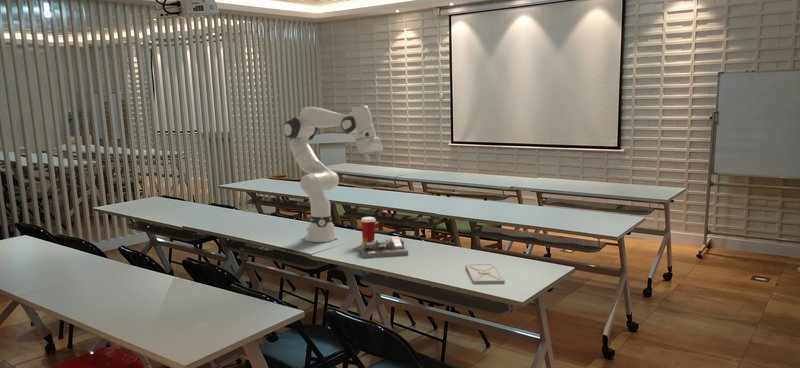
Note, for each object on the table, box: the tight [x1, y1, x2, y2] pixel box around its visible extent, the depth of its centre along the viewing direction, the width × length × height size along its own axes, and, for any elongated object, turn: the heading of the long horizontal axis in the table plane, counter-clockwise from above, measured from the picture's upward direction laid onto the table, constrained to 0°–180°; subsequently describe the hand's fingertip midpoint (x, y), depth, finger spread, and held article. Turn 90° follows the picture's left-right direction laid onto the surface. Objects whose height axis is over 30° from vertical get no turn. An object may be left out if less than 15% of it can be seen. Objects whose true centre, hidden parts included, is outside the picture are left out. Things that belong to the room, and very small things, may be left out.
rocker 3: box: [390, 236, 403, 249], centre depth 309 cm, size 10×4×1 cm, turn 13°
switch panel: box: [359, 238, 409, 259], centre depth 305 cm, size 14×23×6 cm, turn 104°
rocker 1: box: [365, 242, 374, 247], centre depth 305 cm, size 10×4×1 cm, turn 14°
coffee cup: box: [360, 216, 377, 243], centre depth 322 cm, size 8×8×15 cm
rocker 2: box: [378, 240, 389, 246], centre depth 307 cm, size 10×4×1 cm, turn 14°
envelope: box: [465, 263, 506, 284], centre depth 267 cm, size 24×2×14 cm
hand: (373, 160), depth 303 cm, fingers open, 8 cm apart
